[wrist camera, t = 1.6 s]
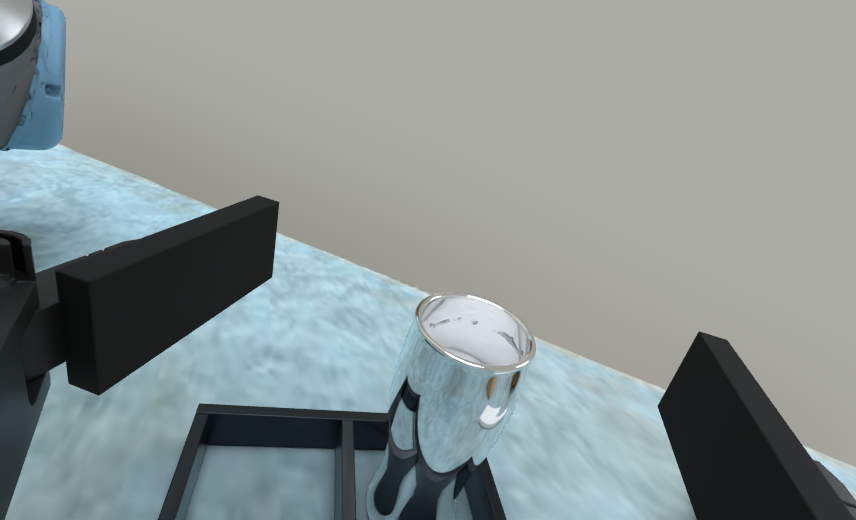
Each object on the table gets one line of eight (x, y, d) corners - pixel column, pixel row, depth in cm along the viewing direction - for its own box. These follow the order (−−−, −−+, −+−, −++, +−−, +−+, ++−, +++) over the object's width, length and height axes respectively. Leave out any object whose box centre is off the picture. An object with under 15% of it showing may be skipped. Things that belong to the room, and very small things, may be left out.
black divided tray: (198, 434, 31) (199, 403, 30) (463, 444, 36) (474, 417, 35) (141, 602, 22) (139, 568, 21) (501, 584, 27) (518, 555, 26)
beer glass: (360, 561, 26) (422, 366, 20) (357, 458, 32) (404, 282, 26) (471, 557, 28) (562, 378, 22) (449, 460, 34) (514, 297, 28)
